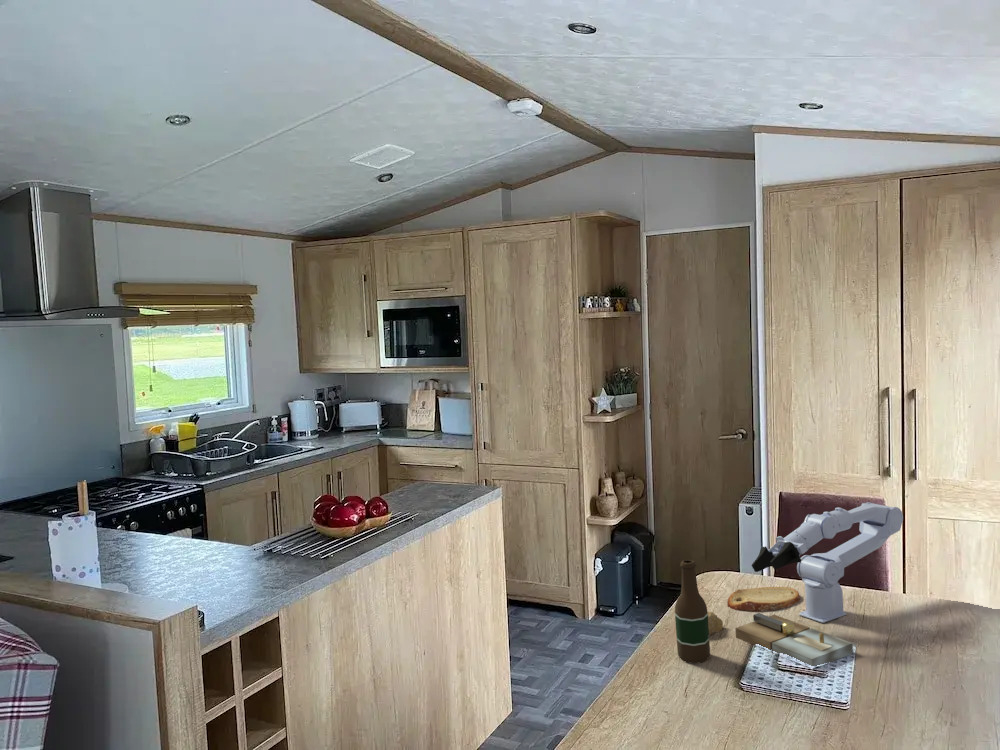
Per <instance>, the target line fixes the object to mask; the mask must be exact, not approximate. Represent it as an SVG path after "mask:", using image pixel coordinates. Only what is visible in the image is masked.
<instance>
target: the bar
mask: <svg viewBox="0 0 1000 750" xmlns="http://www.w3.org/2000/svg"><path fill="white" fill-rule="evenodd" d="M752 618H753V622H754V621H755V622H758V623H761V624H763V625H766V626H768V627H771V628H774V629H776V630H779V631H783V635H786V636H793V635H794V634H795V633H794V623H793V622H794V621H793V622H789V621H785V622H782V621H779V620H776V619H774V618H771V617H769V615H766V614H763V613H760V612H756V613H755V614H753V616H752Z"/></svg>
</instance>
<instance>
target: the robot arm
mask: <svg viewBox="0 0 1000 750" xmlns="http://www.w3.org/2000/svg"><path fill="white" fill-rule="evenodd" d="M903 521H904V514H903V512H902V510H901V508H899V507H897V506H889V505H883V504H878V503H873V502H871V501H870V502H869V501H867V502H862V503H861V505H860V506H857V507H854V508H852V509H850V510H846V509H844V508H842V507H835V508H834V510H832V511H823V513H822V514H817V513H812V514H809V513H808V514H807V515H806V516H805V518H804V521H803V522H802V523H801V524H800V525H799V527H797V528H796V529H795V530H793V531H792V532H790V533H789V534H788V535H786V536H785V537H783V536H781V535H780V536H776V537H775V540H776V542H775V543H774V544H773V545H772V546H771V547H770V548H768V547H767V546H762V547H761V548H760V550H759V553H758V556H757V557H756V558H755V560H754V561H753V562H752V564H751V567H752V569H753V571H754V572H755V573H758V572H761V571H763V570H765V569H767V568H770V567H772V568H773V570H779V569H781V568H783V567H787V566H788V565H790V564H797V565H796V571H797V574H798V576H799V577H800V578H801V582H803V583H804V592H805V593H804V594H805V595H804V596H805V610H804V611H801V612H799V613H798V614H799V616H801V617H804V618H807V619H810V620H812V621H815V622H817V623H823V624H824V623H828V622H830V621H833V620H836V619H839V618H841V617H843V616H844V617H845V616H847V612H845V610H844V593H843V589H842V588H843V587H842V586H841V585H840V583H839V580H840V579H841V578H843V577H844V576H845V568H846V567H849V566H850V565H852V564H854V563H855V562H857V561H859V560H860V559H862V558H864V557H866V556H868V555H869V554H871V553H873V552H874V551H876V550H878V549H880V548H882V546H883V545H884V544H885V543H886V542H887V540H888V539H889V538H890V536H893V535H894V534H896V533H898V532H899V531H901V529H902V525H903ZM855 523H859V530H858V531H859V532H860V533H859V534H858V535H856V536H855V537H853V538H851V539H848V541H846V542H843V543H842V544H840V545H838V546H837V547H835V548H833V549H831V550H828V551H827V552H820V553H813V554H811V555H808V554H805V553H806V552H807V551H809V549H810V548H812V547H813V546H814V545H816V544H818V543H819V542H820V541H822V540H823V539H829V540H830V539H831V540H832V539H834V537H835V536H836V535H837V533H840V532H844V531H846V530H849V529H851V528H852V526H853V524H855ZM803 554H805V555H803ZM801 555H803V556H801ZM800 556H801V557H800Z"/></svg>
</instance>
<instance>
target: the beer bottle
mask: <svg viewBox="0 0 1000 750" xmlns="http://www.w3.org/2000/svg"><path fill="white" fill-rule="evenodd" d="M696 566H697V564H696V561H695V560H692V559H684V560H682V561H680V565H679V567H681V588H680V589H681V590H680V594H679V595H678V598H677V599H676V603H675V604H674V616H675V617H674V619H675V633H676V634H675V635H676V647H677V648H676V649H677V656H678V657H679V659H681V660H682V661H683V662H684V661H686V662H685V663H689V662H691V664H698V663H699V662H700V663H704V662H706V661H708V660H709V658H710V656H711V645H710V642H711V641H710V635H709V627H708V612H709V611H708V607H707V604H706V602H705V599H704V598H703V597H702V595H701V593H700V592H699V588H698V581H697V575H696V574H697V573H696Z"/></svg>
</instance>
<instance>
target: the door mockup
mask: <svg viewBox="0 0 1000 750" xmlns="http://www.w3.org/2000/svg"><path fill="white" fill-rule="evenodd" d="M768 617H771V618H774V619H776V620H779V621H782V622H785V621H789V622H793V623H794V633H795V634H794V635H793V636H786V635H783V631H779V630H776V629H774V628H771V627H768V626H766V625H763V624H761V623H758V622H755V621H754V620H753V621H752V622H751V621H750V622H749V623H746V624H743V625H740V626H737V627H735V638H736V639H739V640H741V641H743V642H745V643H748V644H751V645H752V646H755V644H759V645H761V646H763V647H766V648H768V649H770V650H771V649H772V651H775V652H777V653H783V654H787V655H789V656H791V657H794V658H796V659H798V660H800V661H802V662H804V663H807V664H809V665H811V666H817V665H820V664H824V663H828V664H830V663H832V661H833V662H835V661H838V660H840V659H842V658H845V657H848V656H850V655H852V654H854V648H853V642H852V641H851V642H850V641H847V640H845V639H842V638H840V637H836V636H833V635H832V634H828V633H826V632H823V631H820V630H817V629H815V628H812V627H809V626H807V625H804V624H802V623H801V624H800V623H798V622H796V621H793V620H789V619H787V618H785V617H782V616H779V615H776V614H772V615H768ZM829 662H830V663H829Z"/></svg>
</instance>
